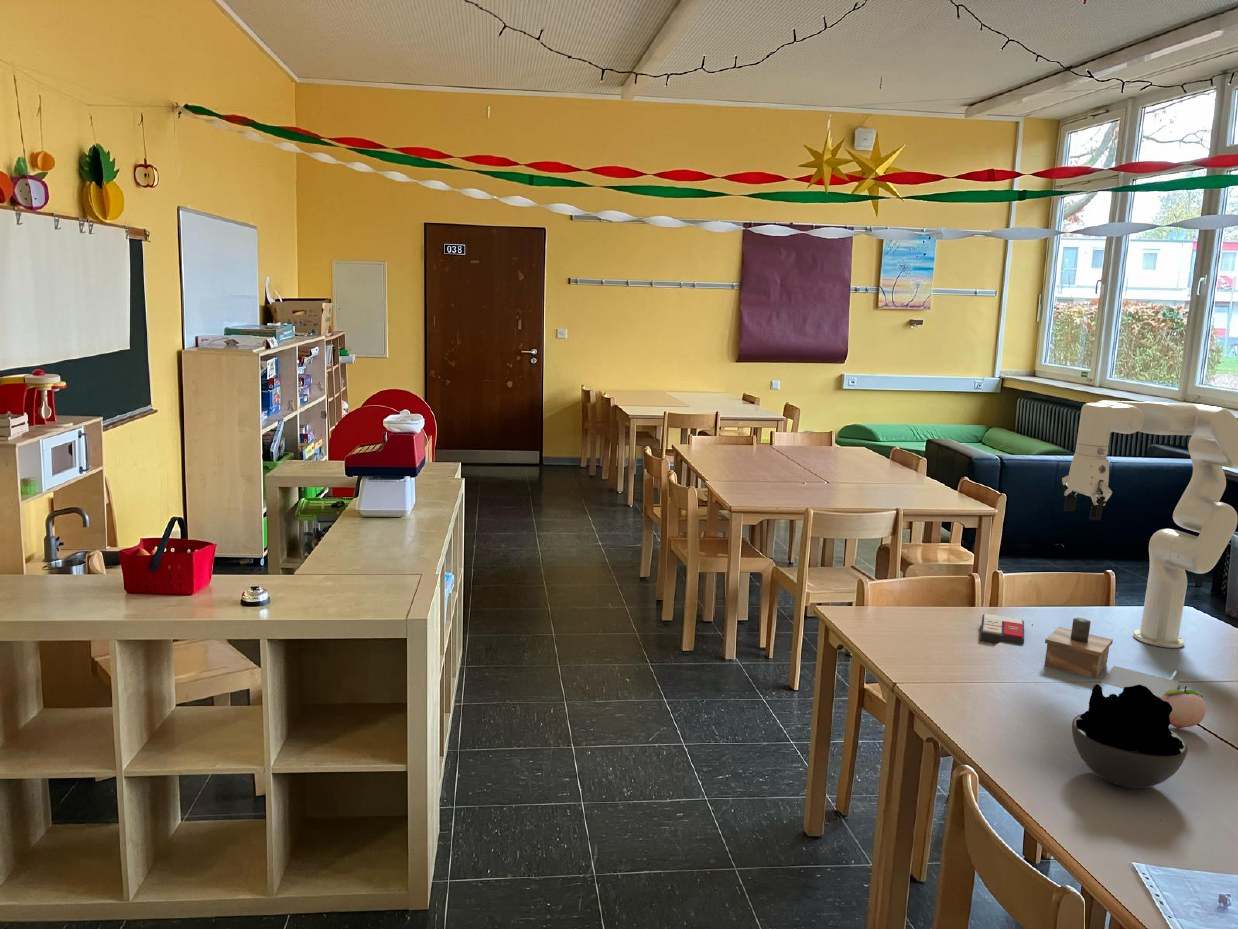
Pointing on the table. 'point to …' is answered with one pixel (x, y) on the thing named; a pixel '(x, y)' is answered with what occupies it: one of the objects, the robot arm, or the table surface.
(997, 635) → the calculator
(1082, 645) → the lid
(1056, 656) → the storage box
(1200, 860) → the table surface
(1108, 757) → the coal bowl
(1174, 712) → the decorative fruit
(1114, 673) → the mat
